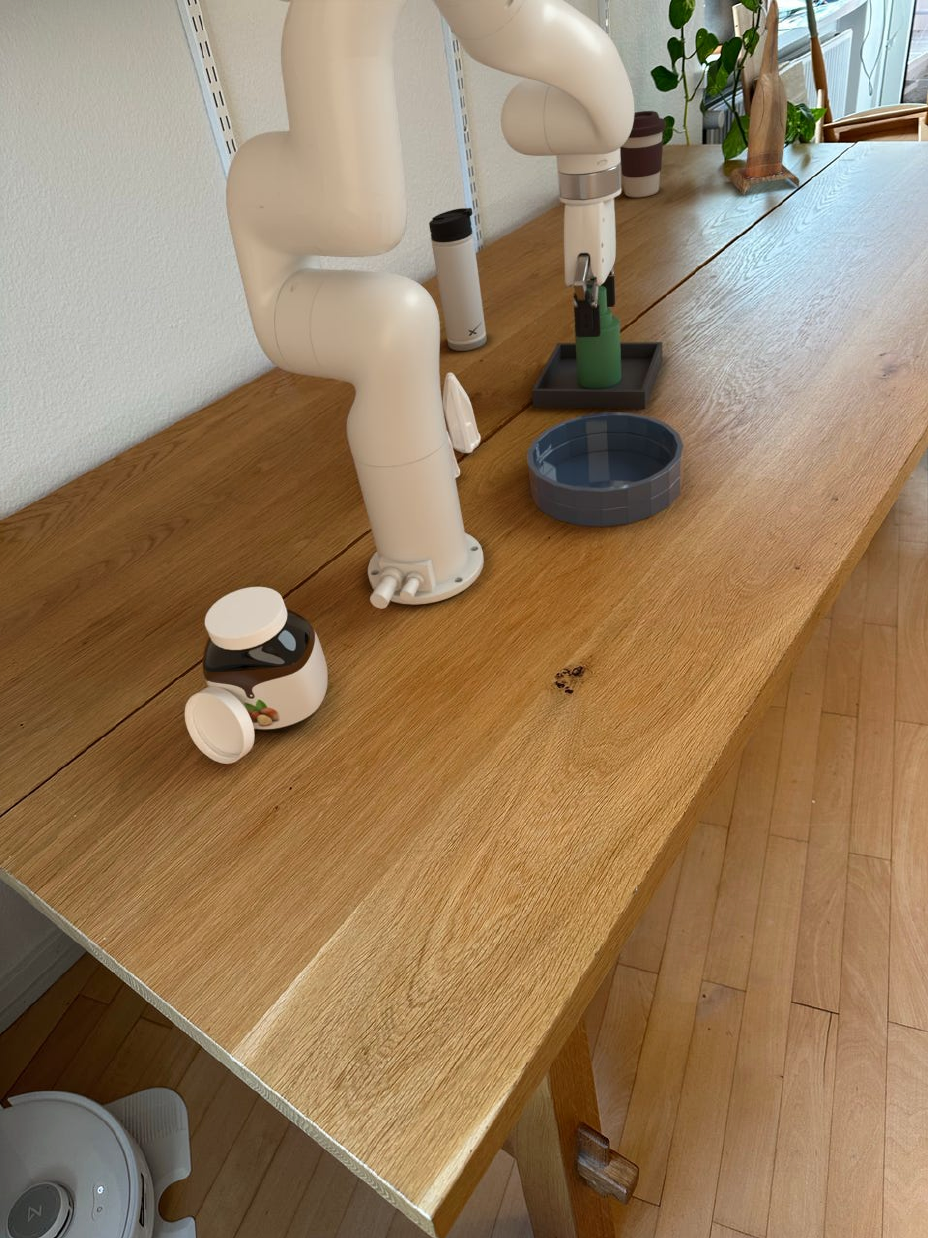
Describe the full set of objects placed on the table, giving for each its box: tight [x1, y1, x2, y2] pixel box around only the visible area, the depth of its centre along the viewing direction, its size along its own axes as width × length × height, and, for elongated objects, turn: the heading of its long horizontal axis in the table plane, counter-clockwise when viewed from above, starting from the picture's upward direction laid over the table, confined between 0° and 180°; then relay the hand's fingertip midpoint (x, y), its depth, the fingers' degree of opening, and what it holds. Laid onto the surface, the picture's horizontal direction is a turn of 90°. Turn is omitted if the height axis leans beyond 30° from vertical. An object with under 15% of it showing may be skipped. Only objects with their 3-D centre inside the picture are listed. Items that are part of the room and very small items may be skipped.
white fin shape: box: [442, 372, 482, 479], centre depth 107 cm, size 12×4×11 cm, turn 156°
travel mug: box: [428, 207, 487, 352], centre depth 133 cm, size 6×7×20 cm
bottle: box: [574, 286, 621, 389], centre depth 117 cm, size 6×6×12 cm
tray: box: [531, 341, 663, 410], centre depth 121 cm, size 15×15×3 cm
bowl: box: [526, 411, 685, 528], centre depth 100 cm, size 17×17×5 cm
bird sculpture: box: [729, 0, 800, 196], centre depth 169 cm, size 11×12×32 cm
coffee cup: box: [620, 110, 667, 199], centre depth 183 cm, size 10×10×15 cm
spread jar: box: [184, 586, 329, 765], centre depth 76 cm, size 12×11×12 cm
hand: (596, 320), depth 116 cm, fingers open, 9 cm apart
